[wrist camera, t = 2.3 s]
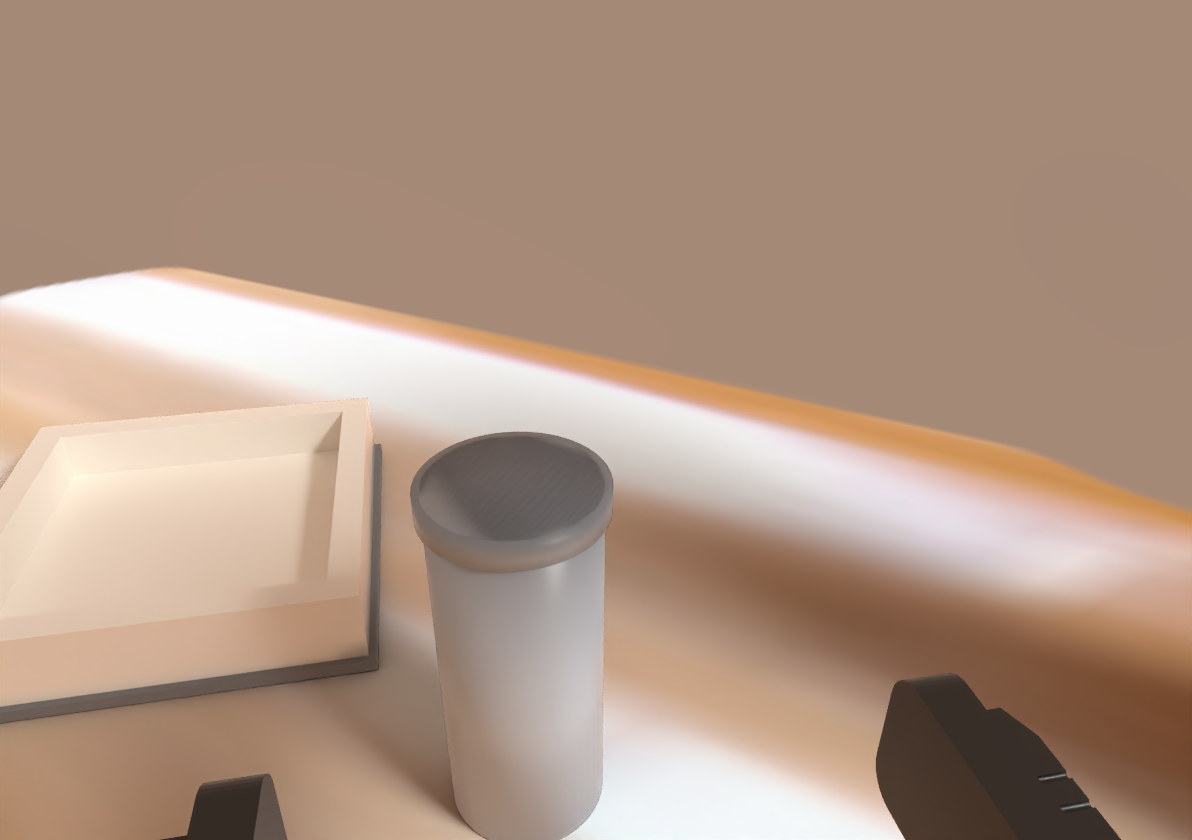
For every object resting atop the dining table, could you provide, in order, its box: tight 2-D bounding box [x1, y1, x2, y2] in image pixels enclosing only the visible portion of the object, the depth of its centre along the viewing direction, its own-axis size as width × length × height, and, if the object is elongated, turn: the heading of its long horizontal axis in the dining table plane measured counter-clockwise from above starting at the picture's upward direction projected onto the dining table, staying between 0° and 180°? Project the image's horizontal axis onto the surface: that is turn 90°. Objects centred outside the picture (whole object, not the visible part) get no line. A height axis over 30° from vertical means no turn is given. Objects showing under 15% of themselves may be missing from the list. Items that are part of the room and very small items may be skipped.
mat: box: [0, 444, 382, 723], centre depth 39 cm, size 16×16×1 cm
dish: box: [0, 398, 375, 707], centre depth 38 cm, size 15×15×3 cm
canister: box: [410, 432, 613, 840], centre depth 27 cm, size 5×5×12 cm
